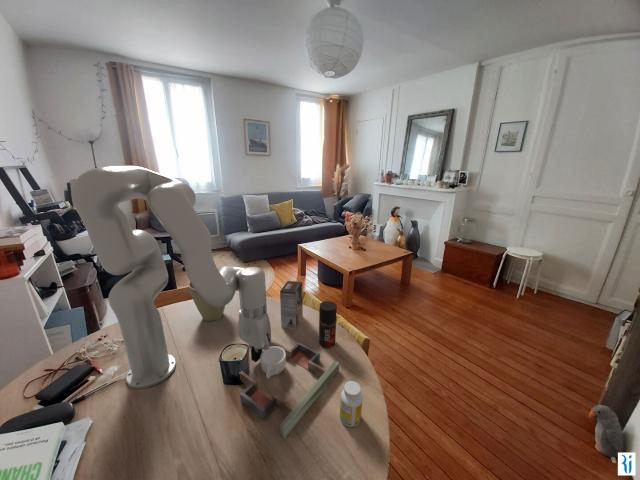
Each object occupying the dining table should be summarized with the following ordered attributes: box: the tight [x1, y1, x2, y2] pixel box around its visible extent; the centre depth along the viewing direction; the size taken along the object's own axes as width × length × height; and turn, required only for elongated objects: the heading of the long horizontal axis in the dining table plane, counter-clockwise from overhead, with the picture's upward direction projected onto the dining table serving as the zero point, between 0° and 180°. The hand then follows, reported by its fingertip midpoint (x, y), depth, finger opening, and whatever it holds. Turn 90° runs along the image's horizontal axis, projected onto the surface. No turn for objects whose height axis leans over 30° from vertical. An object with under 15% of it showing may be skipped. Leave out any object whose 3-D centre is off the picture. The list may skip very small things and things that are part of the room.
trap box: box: [239, 339, 340, 439], centre depth 76 cm, size 26×25×3 cm
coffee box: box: [279, 280, 304, 330], centre depth 100 cm, size 9×6×16 cm
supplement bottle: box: [339, 380, 363, 428], centre depth 63 cm, size 5×5×10 cm
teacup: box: [259, 346, 287, 379], centre depth 77 cm, size 10×8×5 cm
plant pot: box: [188, 281, 226, 322], centre depth 103 cm, size 15×15×16 cm
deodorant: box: [318, 300, 338, 349], centre depth 89 cm, size 6×6×15 cm
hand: (257, 358), depth 81 cm, fingers closed
